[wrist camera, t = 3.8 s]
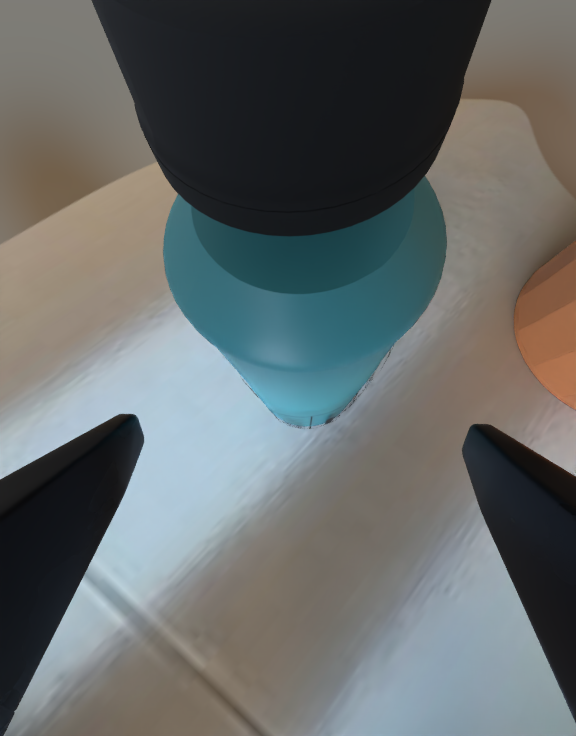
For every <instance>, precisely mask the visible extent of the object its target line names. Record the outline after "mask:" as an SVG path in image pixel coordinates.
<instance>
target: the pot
mask: <svg viewBox="0 0 576 736" xmlns="http://www.w3.org/2000/svg"><path fill="white" fill-rule="evenodd" d="M514 330H515V335H516V340H517V343H518V346H519V349H520V352H521V354H522V356H523V358H524V360H525V362H526V364H527V365H528V367H529V368H530V370H531V371H532V373H533V374H534V375H535V377H536V378H537V379H538V380H539V381H540V383H541V384H542V385H543V386H544V387H545V388H546V389H547V390H548V391H549V392H551V393H552V394H553V395H554V396H556V397H557V398H558V399H559V400H561V401H562V402H564V403H565V404H567V405H568V406H570V407H572V408H573V409H575V410H576V240H575V241H574V242H573V243H572V244H570V245H569V246H568V247H566V248H565V249H564V250H563V251H561V252H560V253H559V254H557V255H556V256H555V257H554V258H552V259H551V260H550V261H548V262H547V263H546V264H545V265H543V266H542V267H541V268H539V269H538V270H537V271H536V272H535V273H534V274H533V276H532V277H531V278H530V279H529V280H528V281H527V282H526V284H525V285H524V287H523V288H522V290H521V292H520V294H519V297H518V299H517V303H516V306H515V313H514Z"/></svg>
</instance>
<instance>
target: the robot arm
mask: <svg viewBox="0 0 576 736" xmlns="http://www.w3.org/2000/svg"><path fill="white" fill-rule="evenodd" d="M143 444H144V435H143V432H142V429H141V426H140V423H139V420H138V418H137V416H136V415H134V414H119V415H117V416H115V417H113V418H112V419H110V420H108V421H106V422H104V423H102V424H101V425H99V426H97V427H95V428H93V429H92V430H90V431H88V432H86V433H84V434H82V435H81V436H79V437H77V438H75V439H73V440H71V441H70V442H68V443H66V444H64V445H62V446H61V447H59V448H57V449H55V450H53V451H51V452H50V453H48V454H46V455H44V456H42V457H41V458H39V459H37V460H35V461H33V462H31V463H30V464H28V465H26V466H24V467H22V468H20V469H19V470H17V471H15V472H13V473H11V474H10V475H8V476H6V477H4V478H2V479H0V736H4V734H5V732H6V730H7V728H8V726H9V724H10V722H11V720H12V718H13V716H14V713H15V712H14V711H15V710H16V709H17V707H18V705H19V703H20V701H21V699H22V697H23V695H24V693H25V691H26V689H27V687H28V685H29V683H30V681H31V679H32V677H33V675H34V673H35V671H36V669H37V667H38V665H39V663H40V661H41V659H42V657H43V655H44V653H45V651H46V650H47V648H48V646H49V644H50V642H51V640H52V638H53V636H54V634H55V632H56V630H57V628H58V626H59V624H60V622H61V620H62V618H63V616H64V614H65V612H66V610H67V608H68V606H69V604H70V602H71V600H72V598H73V596H74V594H75V592H76V590H77V588H78V586H79V584H80V582H81V580H82V578H83V576H84V574H85V572H86V570H87V568H88V566H89V564H90V562H91V560H92V558H93V556H94V554H95V552H96V550H97V548H98V546H99V544H100V542H101V540H102V538H103V536H104V534H105V532H106V530H107V528H108V526H109V524H110V522H111V520H112V518H113V516H114V514H115V512H116V510H117V508H118V506H119V504H120V502H121V500H122V498H123V496H124V494H125V491H126V489H127V487H128V484H129V481H130V479H131V476H132V473H133V471H134V468H135V466H136V463H137V460H138V458H139V455H140V452H141V450H142V447H143ZM462 454H463V458H464V461H465V464H466V467H467V470H468V473H469V476H470V479H471V483H472V486H473V489H474V492H475V495H476V498H477V501H478V504H479V507H480V509H481V512H482V514H483V517H484V519H485V522H486V524H487V526H488V528H489V530H490V533H491V535H492V537H493V539H494V542H495V544H496V546H497V548H498V551H499V553H500V555H501V557H502V560H503V562H504V564H505V566H506V568H507V571H508V573H509V575H510V577H511V580H512V582H513V584H514V586H515V589H516V591H517V593H518V595H519V597H520V600H521V602H522V604H523V606H524V609H525V611H526V613H527V615H528V618H529V620H530V622H531V624H532V626H533V629H534V631H535V633H536V635H537V638H538V640H539V642H540V644H541V647H542V649H543V651H544V653H545V656H546V658H547V660H548V662H549V664H550V667H551V669H552V671H553V673H554V676H555V678H556V680H557V682H558V685H559V687H560V689H561V691H562V693H563V696H564V698H565V700H566V702H567V705H568V707H569V709H570V711H571V714H572V716H573V718H574V720H575V723H576V476H574V475H572V474H571V473H569V472H567V471H566V470H564V469H562V468H561V467H559V466H557V465H556V464H554V463H553V462H551V461H549V460H548V459H546V458H544V457H543V456H541V455H539V454H538V453H536V452H534V451H533V450H531V449H530V448H528V447H526V446H525V445H523V444H521V443H520V442H518V441H516V440H515V439H513V438H511V437H510V436H508V435H506V434H505V433H503V432H502V431H500V430H498V429H497V428H495V427H493V426H492V425H489V424H473V425H472V426H471V427H470V428H469V431H468V434H467V436H466V439H465V442H464V444H463V448H462Z"/></svg>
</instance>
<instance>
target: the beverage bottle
mask: <svg viewBox="0 0 576 736" xmlns="http://www.w3.org/2000/svg"><path fill="white" fill-rule="evenodd" d="M92 2H93V5H94V7H95V10H96V12H97V14H98V17H99V19H100V21H101V24H102V26H103V28H104V31H105V33H106V36H107V38H108V41H109V43H110V45H111V48H112V50H113V52H114V54H115V57H116V60H117V62H118V64H119V67H120V69H121V71H122V74H123V76H124V79H125V81H126V83H127V86H128V88H129V90H130V93H131V95H132V98H133V100H134V103H135V109H136V113H137V116H138V120H139V123H140V126H141V128H142V131H143V133H144V136H145V138H146V140H147V141H148V144H149V146H150V148H151V150H152V152H153V154H154V156H155V158H156V160H157V162H158V164H159V166H160V167H161V169H162V171H163V173H164V175H165V177H166V179H167V180H168V181H169V183H170V184H171V186H172V187H173V188H174V190H175V191H176V192H177V193H178V195H177V197H176V200H175V202H174V204H173V206H172V208H171V211H170V214H169V217H168V220H167V223H166V229H165V235H164V250H163V255H164V264H165V273H166V276H167V280H168V283H169V287H170V290H171V292H172V294H173V296H174V299H175V301H176V303H177V304H178V306H179V308H180V309H181V311H182V312H183V314H184V316H185V317H186V318H187V319H188V320H189V322H190V323H191V324H192V325H193V326H194V328H195V329H196V330H197V331H198V332H199V333H200V334H201V335H202V336H203V337H205V338H206V339H207V340H208V341H209V342H210V343H211V344H213V345H214V346H215V347H217V348H218V350H219V351H220V352H221V353H222V354H223V355H224V356H225V358H226V359H227V360H228V361H229V362H230V363H231V364H232V365H233V367H234V368H235V369H236V370H237V371H238V372H239V373H240V375H241V376H242V377H243V378H244V379H245V380H246V381H247V383H248V384H249V385H250V386H251V388H252V389H253V391H254V392H255V394H257V395H258V396H257V397H259V398H260V399H261V400H262V401H263V403H264V404H265V405H266V406H267V407H268V409H269V410H270V411H271V412H272V413H273V414H274V415H275V416H277V417H278V418H280V419H281V420H283V421H284V422H287V424H288V425H289V423H290V425H291V424H292V425H293V426H294V425H296V426H299V427H300V426H310V428H309V429H312V428H311V426H316V425H320V424H323V423H325V424H327V423H330V422H331V421H332V420H333V418H334V419H335V417H336V416H337V415H339V414H340V413H341V412H342V411H343V410H344V408H345V407H346V406H347V405H348V404H349V402H351V400H352V399H353V401H354V399H355V398H353V397H354V396H355V395H357V394H358V391H359V390H360V389H361V388H362V386H363V385H364V384H365V383H366V382H368V381H367V380H368V379H369V378H371V377H370V376H371V375H372V374H375V373H374V372H375V371H376V369H377V367H378V365H379V364H380V362H381V360H382V359H383V358H384V356H385V355H386V354H387V352H388V351H389V350H390V349H391V347H392V346H394V343H395V342H396V341H397V340H399V339H400V338H401V337H402V336H403V335H404V334H405V333H406V332H407V331H408V330H409V329H410V328H411V327H412V326H413V325H414V324H415V322H416V321H417V320H418V319H419V317H420V316H421V315H422V313H423V312H424V311H425V310H426V308H427V307H428V305H429V303H430V301H431V300H432V298H433V296H434V294H435V292H436V290H437V287H438V284H439V282H440V279H441V276H442V272H443V267H444V263H445V258H446V247H447V237H446V225H445V221H444V216H443V212H442V209H441V207H440V204H439V201H438V199H437V196H436V194H435V192H434V190H433V189H432V187H431V185H430V183H429V181H428V180H427V178H426V177H425V175H426V174H427V172H428V170H429V169H430V167H431V165H432V164H433V162H434V161H435V159H436V157H437V154H438V152H439V150H440V148H441V145H442V143H443V141H444V139H445V136H446V134H447V132H448V130H449V127H450V125H451V122H452V120H453V117H454V115H455V112H456V109H457V107H458V104H459V101H460V97H461V92H462V88H463V84H464V76H465V73H466V70H467V67H468V64H469V61H470V59H471V56H472V53H473V50H474V47H475V45H476V42H477V39H478V36H479V34H480V31H481V27H482V25H483V22H484V19H485V17H486V14H487V11H488V8H489V5H490V3H491V0H92ZM389 355H390V352H389ZM388 357H389V356H388ZM388 357H387V358H388ZM386 360H387V359H386ZM385 362H386V361H385ZM384 364H385V363H384ZM381 369H382V368H381ZM242 380H243V379H242ZM370 380H371V381H372V379H370ZM370 380H369V382H370V383H371V381H370ZM243 381H244V380H243ZM248 387H249V386H248ZM249 388H250V387H249ZM251 388H250V389H251ZM365 388H366V387H365ZM252 389H251V390H252ZM363 390H364V389H363ZM363 392H364V391H362V392H361V393H363ZM359 396H360V395H358V397H359ZM355 397H356V396H355ZM351 403H352V402H351ZM353 403H354V402H353ZM353 403H352V404H353ZM352 404H351V405H352ZM351 405H349V406H351ZM343 412H344V411H343ZM339 416H340V415H339ZM339 416H338V417H339ZM277 417H276V418H277ZM278 418H277V419H278ZM336 420H337V419H336ZM283 421H282V422H283ZM333 421H334V420H333ZM333 421H332V422H333ZM284 422H283V423H284ZM332 422H331V423H332ZM325 424H324V425H325ZM324 425H323V426H324ZM300 428H302V427H300ZM302 429H303V428H302Z"/></svg>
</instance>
